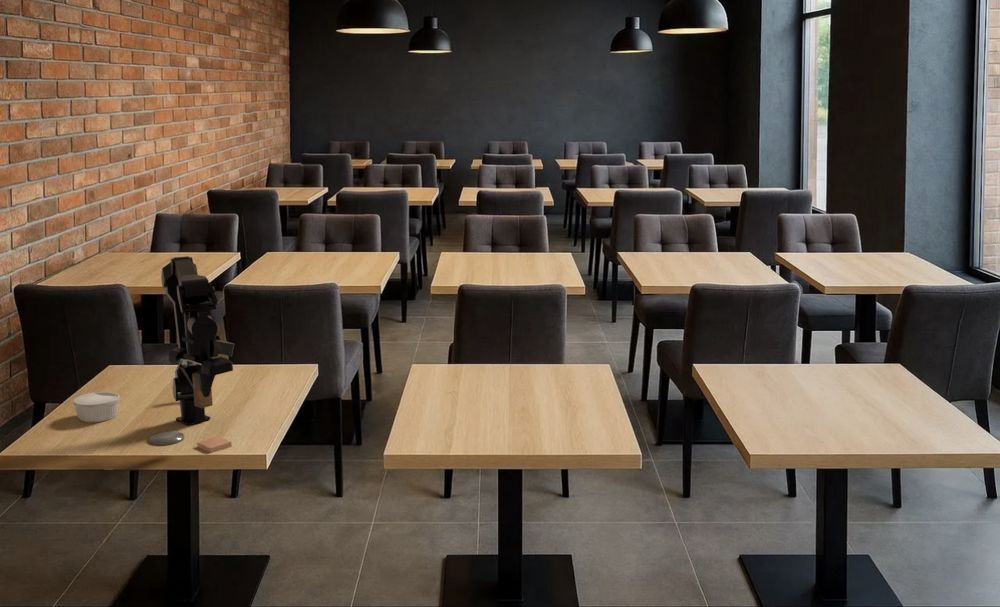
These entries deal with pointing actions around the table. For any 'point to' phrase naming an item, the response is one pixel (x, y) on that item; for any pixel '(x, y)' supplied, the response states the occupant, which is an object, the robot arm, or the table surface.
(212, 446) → the tile
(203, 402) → the block
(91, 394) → the ramekin
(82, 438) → the table surface
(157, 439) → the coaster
